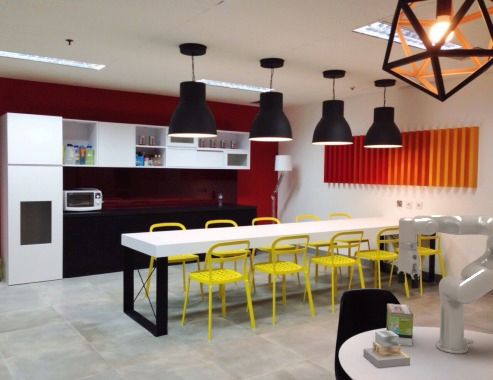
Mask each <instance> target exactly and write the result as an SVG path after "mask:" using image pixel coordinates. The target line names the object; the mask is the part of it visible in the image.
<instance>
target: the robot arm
mask: <svg viewBox="0 0 493 380" xmlns="http://www.w3.org/2000/svg"><path fill="white" fill-rule="evenodd" d="M436 233H441V234H446V235H455V236H467V235H468V236H471V235H473V236H477V235H478V236H479V235H480V236H481V235H483V236H487V238H486V244H485V245H486V246H485V251H484V253H483V254H482V255H480V257H478V258H476V259H475V260H473V261H472V262H470V263H469V264H467V265H465V266H463V268H462V269H461V271H460V277H461V278H460V277H458V276H454V275H446V276H444V277H442V278H441V279H440V281H439V283H438V293H439V299H440V313H439V315H440V318H439V340H438V341H437V342H436V343H435V346H436V348H437V349H438V350H440V351H443V352H446V353H450V354H457V355H458V354H459V355H460V354H465V353H467V352H468V351H469V348H468V346H467V345H472V344H474V340H473V339H472V338H470V339H469V338H466V337H465V313H466V312H465V305H468V304H471V303H473V302H475V301H477V300H478V299H480V298H482V297H483V296H485V295H486V294H487V293H489V292H490V291H492V290H493V216H491V215H482V214H481V215H480V214H477V215H475V214H474V215H470V214H469V215H453V214H452V215H416V216H414V217H405V216H404V217H400V218H399V221H398V254H397V262H395V266H396V268H395V269H396V273H397V283H398V284H405V283H406V274H408V275H410V277H411V278H410V289H419V280H420V278H421V274H422V270H421V264H420V262H421V261H420V255H419V251H418V235H424V236H432V235H434V234H436Z"/></svg>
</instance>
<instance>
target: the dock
mask: <svg viewBox="0 0 493 380" xmlns="http://www.w3.org/2000/svg"><path fill="white" fill-rule="evenodd" d="M362 352H363V353H362V354H363V357H364V358H365V359H367V360H368V361H369V363H371V364H372V365H374V366H375V367H376V368H377V369H383V368H393V367H394V368H395V367H403V366H411V357H410V356H409V355H408V354H406V353H404V352H403V351H402V350H401V355H396V356H385V357H380V356H378V355H377V354H376V353H375V352H373V347H369V348H363V351H362Z"/></svg>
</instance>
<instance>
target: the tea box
mask: <svg viewBox="0 0 493 380" xmlns="http://www.w3.org/2000/svg"><path fill="white" fill-rule="evenodd" d="M385 324H386V325H385V326H386V328H385V331H392V332H394V333H395V334H397V335H398V336H399V345H401V346H404V347H412V346H413V333H414V332H413V331H414V330H413V329H414V313H413V311H412V309H411V308H410V306H409V305H408V304H398V303H397V304H395V303H387V304H386V323H385Z"/></svg>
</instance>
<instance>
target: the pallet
mask: <svg viewBox="0 0 493 380" xmlns="http://www.w3.org/2000/svg"><path fill="white" fill-rule="evenodd" d="M374 337H375V338H374V340H373V341H372V348H373V352H375V353H376V354H377V355H378V356H380V357H385V356H396V355H401V351H402V350H401V349H402V345H399V336H398V335H397V334H395V333H394V332H392V331H386V330H382V331H381V330H380V331H375V332H374Z"/></svg>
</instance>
